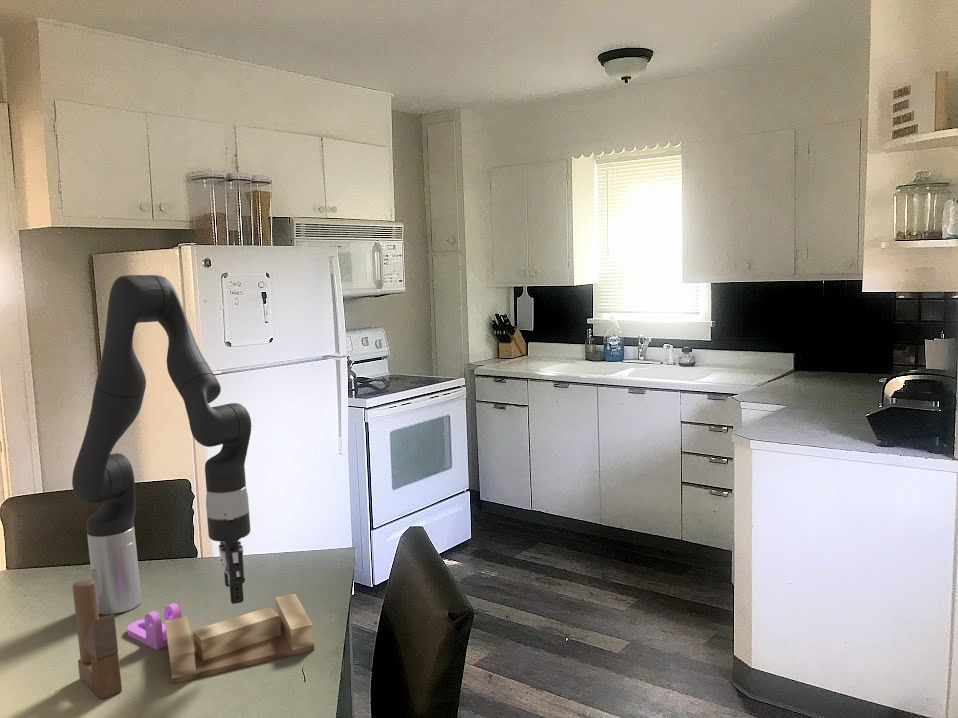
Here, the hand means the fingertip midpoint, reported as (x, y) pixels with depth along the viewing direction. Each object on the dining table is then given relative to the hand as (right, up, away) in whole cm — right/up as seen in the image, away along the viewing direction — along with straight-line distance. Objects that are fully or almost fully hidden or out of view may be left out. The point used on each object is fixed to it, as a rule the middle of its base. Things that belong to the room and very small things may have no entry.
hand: (234, 593), depth 150 cm
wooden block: (-20, -13, -10) cm, 26 cm away
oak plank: (0, -10, +1) cm, 10 cm away
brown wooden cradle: (+1, -11, +1) cm, 11 cm away
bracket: (-19, -11, +8) cm, 23 cm away
